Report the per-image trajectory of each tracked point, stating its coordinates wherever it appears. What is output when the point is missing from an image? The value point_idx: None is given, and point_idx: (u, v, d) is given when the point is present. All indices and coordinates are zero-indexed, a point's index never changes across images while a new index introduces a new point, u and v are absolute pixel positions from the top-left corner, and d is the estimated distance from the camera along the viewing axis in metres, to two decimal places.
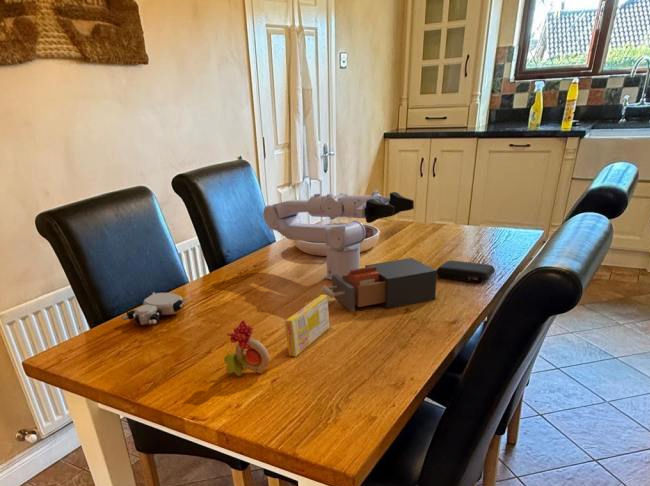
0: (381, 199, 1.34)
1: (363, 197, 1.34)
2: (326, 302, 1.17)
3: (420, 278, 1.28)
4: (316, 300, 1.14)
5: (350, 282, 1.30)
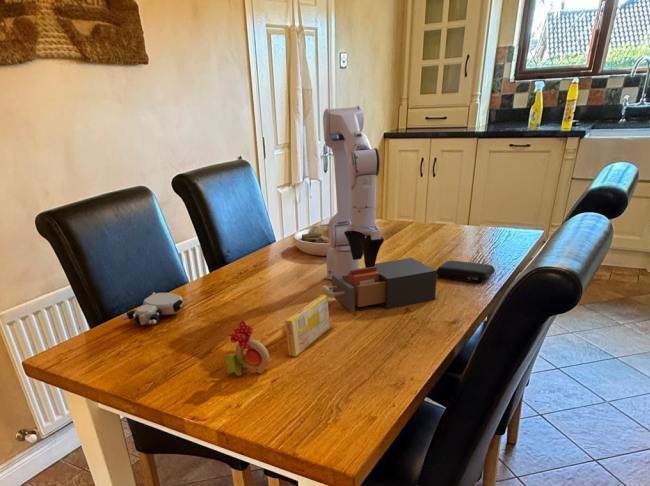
0: None
1: (351, 214, 1.22)
2: (326, 302, 1.17)
3: (420, 278, 1.28)
4: (316, 300, 1.14)
5: (350, 282, 1.30)
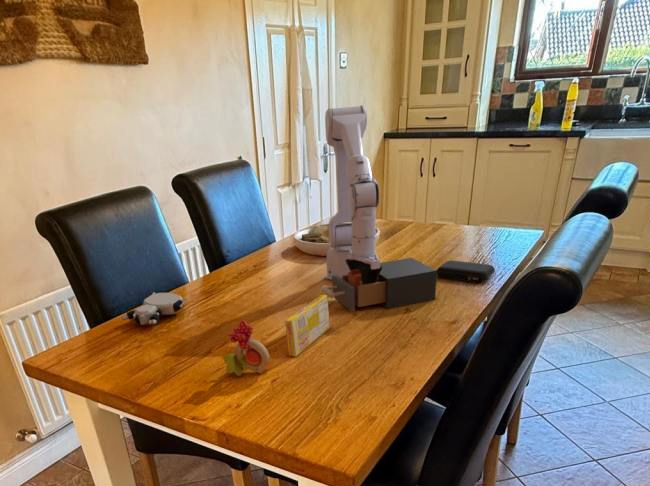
0: None
1: (351, 243, 1.26)
2: (326, 302, 1.17)
3: (420, 278, 1.28)
4: (316, 300, 1.14)
5: (350, 282, 1.30)
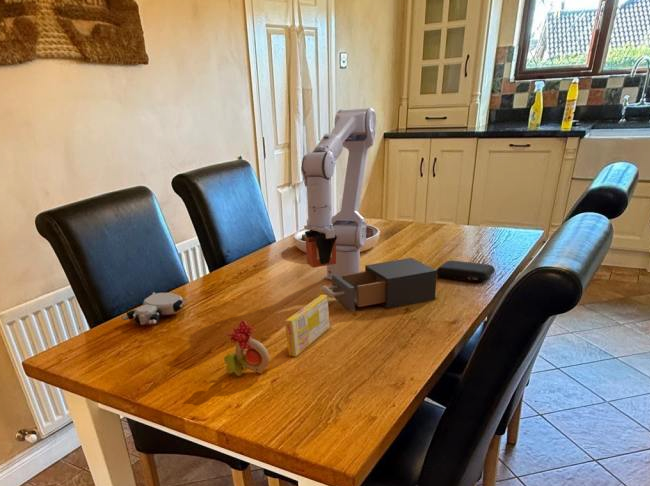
0: None
1: (308, 213, 1.27)
2: (326, 302, 1.17)
3: (420, 278, 1.28)
4: (316, 300, 1.14)
5: (308, 250, 1.31)
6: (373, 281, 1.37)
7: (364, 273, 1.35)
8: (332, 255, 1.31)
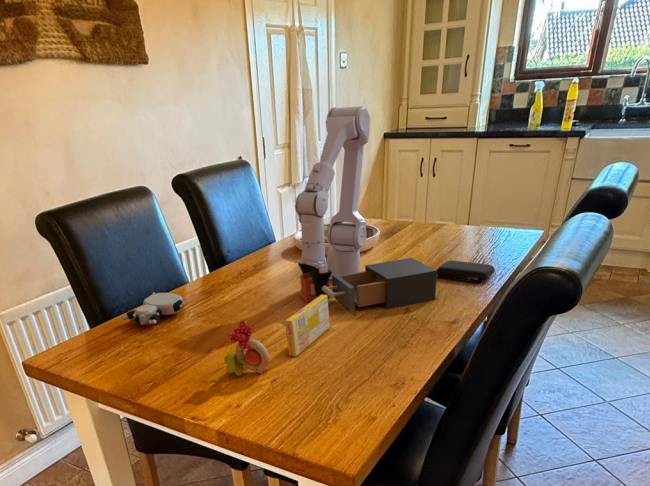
0: None
1: None
2: (326, 302, 1.17)
3: (420, 278, 1.28)
4: (316, 300, 1.14)
5: (302, 285, 1.37)
6: (373, 281, 1.37)
7: (364, 273, 1.35)
8: None
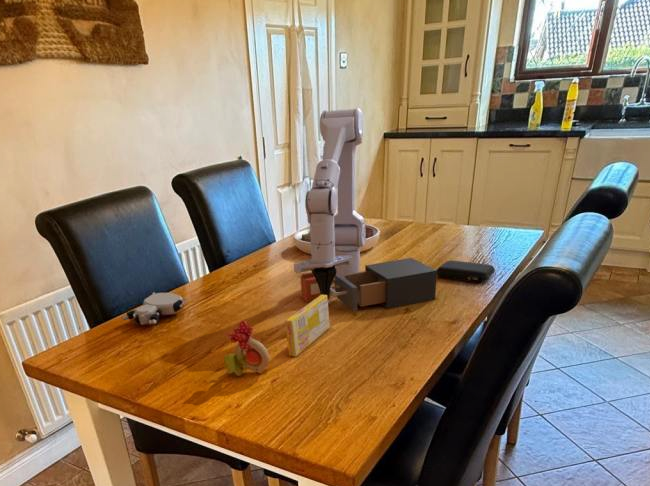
0: None
1: (322, 252, 1.21)
2: (326, 302, 1.17)
3: (420, 278, 1.28)
4: (316, 300, 1.14)
5: (302, 285, 1.37)
6: (375, 281, 1.37)
7: (367, 273, 1.35)
8: None
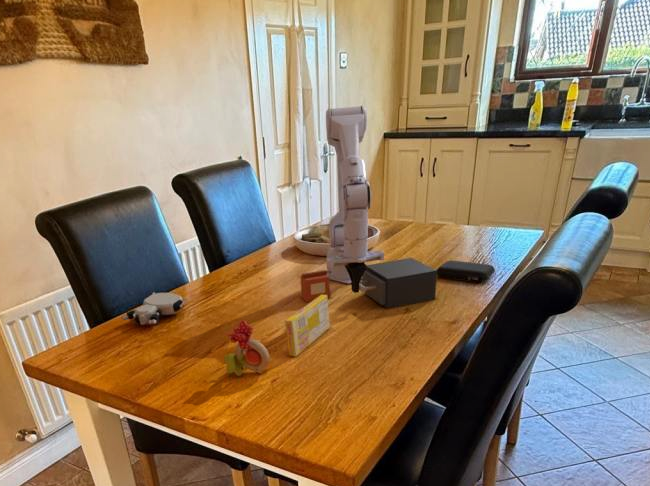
0: None
1: (355, 247, 1.23)
2: (326, 302, 1.17)
3: (420, 278, 1.28)
4: (316, 300, 1.14)
5: (302, 285, 1.37)
6: None
7: None
8: (325, 290, 1.37)
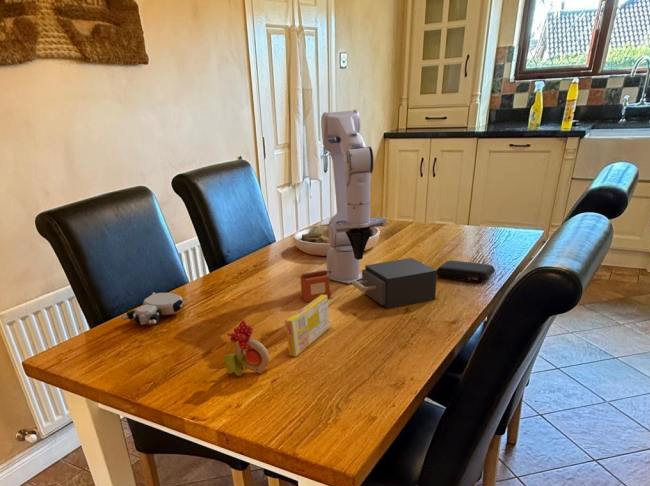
0: None
1: (358, 212, 1.23)
2: (326, 302, 1.17)
3: (420, 278, 1.28)
4: (316, 300, 1.14)
5: (302, 285, 1.37)
6: None
7: None
8: (325, 290, 1.37)
